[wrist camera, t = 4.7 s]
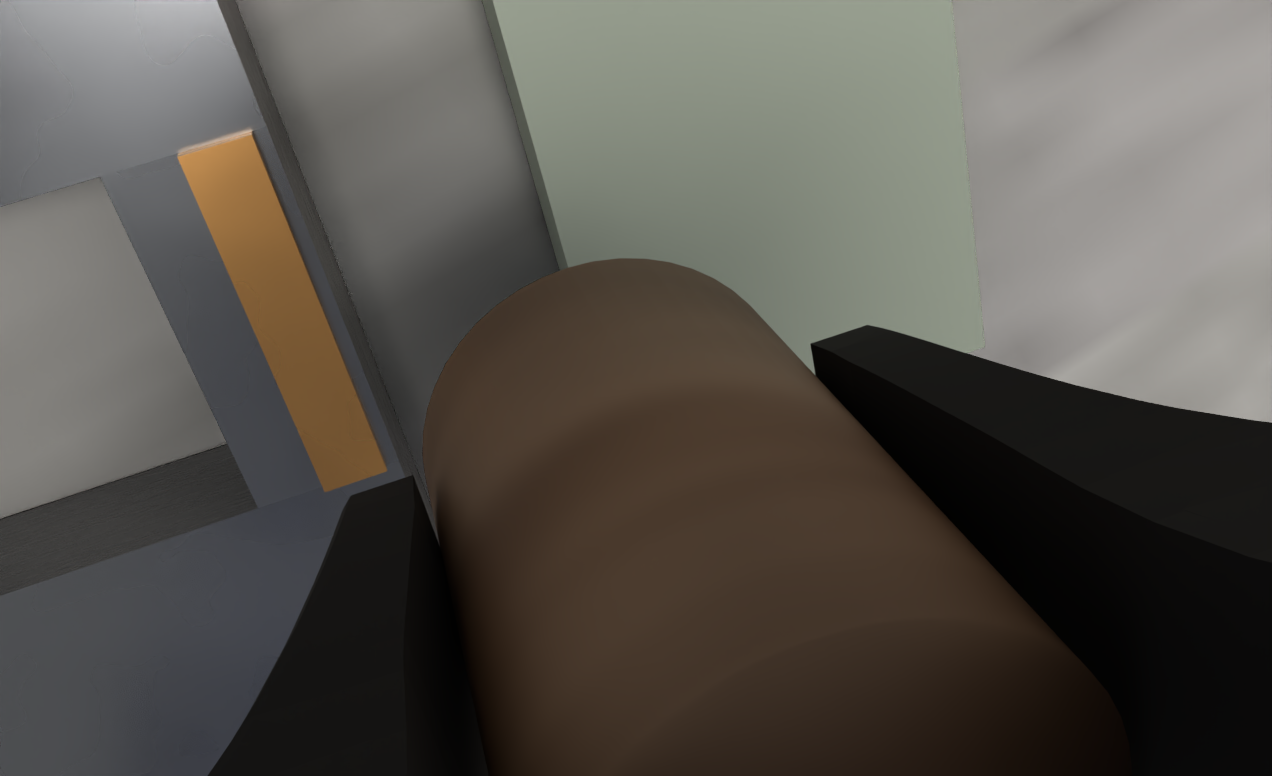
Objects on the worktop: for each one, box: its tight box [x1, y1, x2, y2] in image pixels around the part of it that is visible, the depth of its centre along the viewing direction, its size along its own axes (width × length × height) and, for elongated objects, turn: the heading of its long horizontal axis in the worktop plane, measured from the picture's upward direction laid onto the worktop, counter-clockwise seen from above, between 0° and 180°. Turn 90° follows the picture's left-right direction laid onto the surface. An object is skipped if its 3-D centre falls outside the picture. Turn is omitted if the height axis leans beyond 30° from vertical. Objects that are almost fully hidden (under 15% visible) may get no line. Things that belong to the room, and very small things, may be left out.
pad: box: [482, 0, 985, 376], centre depth 20 cm, size 10×7×2 cm
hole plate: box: [0, 0, 440, 776], centre depth 18 cm, size 18×10×3 cm, turn 14°
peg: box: [423, 258, 1132, 776], centre depth 10 cm, size 4×4×6 cm
